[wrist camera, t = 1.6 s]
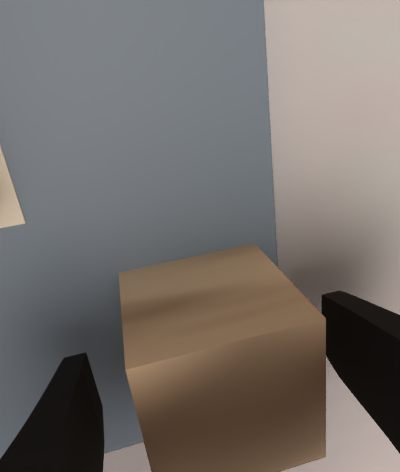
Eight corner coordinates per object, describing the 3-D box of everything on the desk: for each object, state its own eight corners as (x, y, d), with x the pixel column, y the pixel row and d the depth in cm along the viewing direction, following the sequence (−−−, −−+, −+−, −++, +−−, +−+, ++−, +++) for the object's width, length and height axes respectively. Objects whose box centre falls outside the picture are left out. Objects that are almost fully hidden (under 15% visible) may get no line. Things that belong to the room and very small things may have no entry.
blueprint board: (278, 390, 16) (285, 402, 16) (-113, 501, 14) (-123, 521, 13) (243, -181, 9) (254, -200, 9) (-561, -156, 7) (-631, -181, 6)
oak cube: (263, 352, 14) (325, 456, 10) (144, 383, 14) (161, 509, 10) (254, 243, 13) (325, 318, 9) (118, 272, 12) (125, 370, 8)
